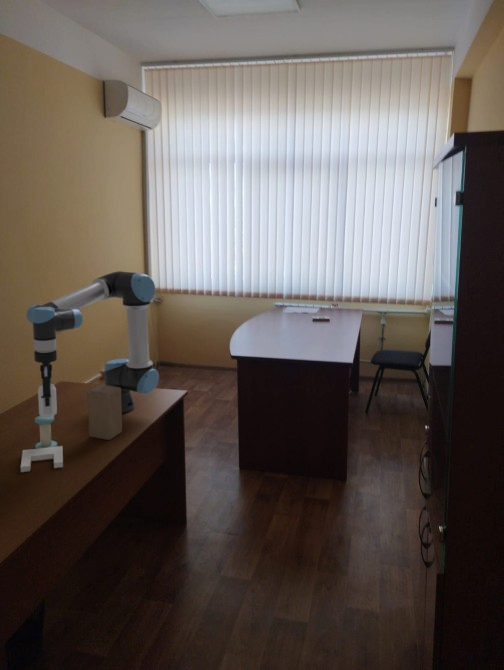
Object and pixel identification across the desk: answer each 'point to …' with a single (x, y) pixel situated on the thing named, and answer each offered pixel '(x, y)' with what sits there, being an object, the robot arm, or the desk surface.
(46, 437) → the bobbin
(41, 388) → the beverage can
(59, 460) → the u-shaped block
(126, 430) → the desk surface
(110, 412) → the wooden block
